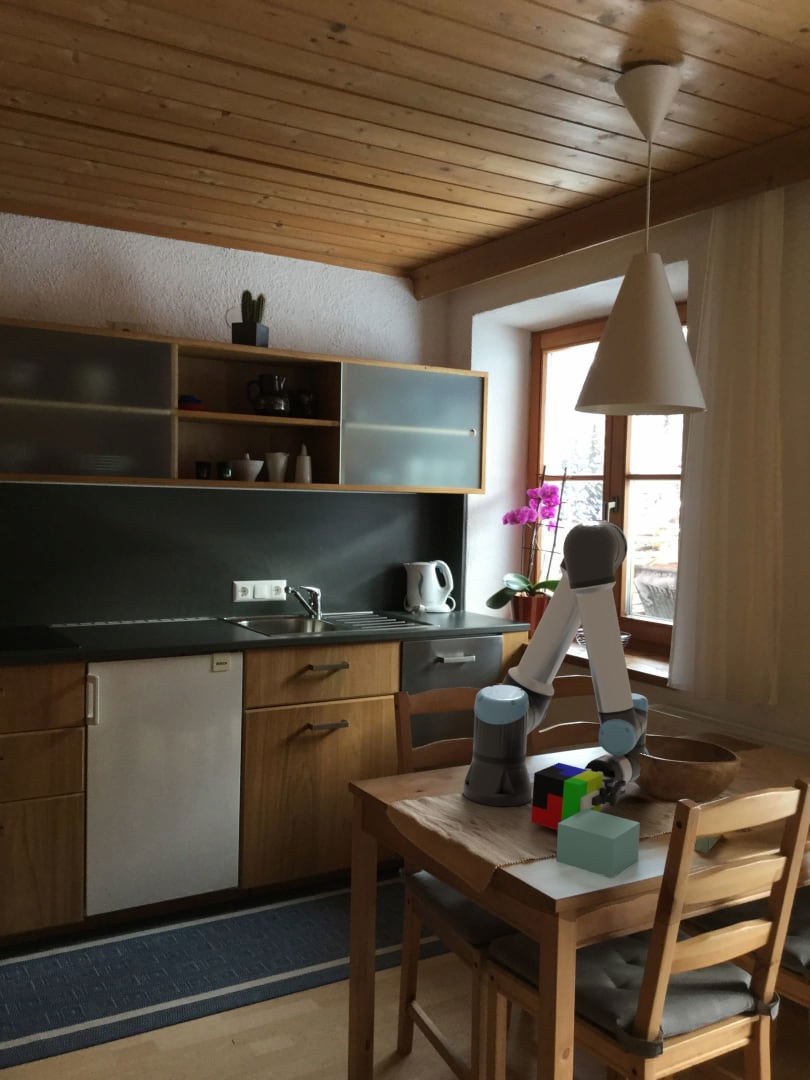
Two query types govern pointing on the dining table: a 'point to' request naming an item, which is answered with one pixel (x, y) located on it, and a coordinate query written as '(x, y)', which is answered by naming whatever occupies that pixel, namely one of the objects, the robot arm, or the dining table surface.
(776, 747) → the dining table surface
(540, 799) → the puzzle toy
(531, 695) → the robot arm
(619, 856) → the base brick
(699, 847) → the medication box
